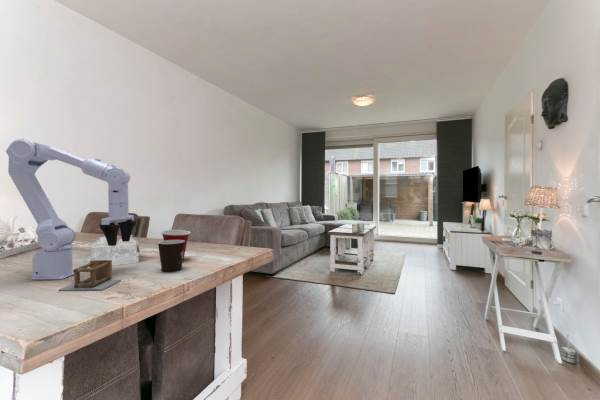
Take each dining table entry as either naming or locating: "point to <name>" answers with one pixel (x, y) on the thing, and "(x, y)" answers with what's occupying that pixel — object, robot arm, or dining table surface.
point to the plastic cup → (176, 236)
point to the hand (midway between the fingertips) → (119, 243)
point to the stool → (94, 273)
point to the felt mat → (98, 287)
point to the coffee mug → (171, 255)
